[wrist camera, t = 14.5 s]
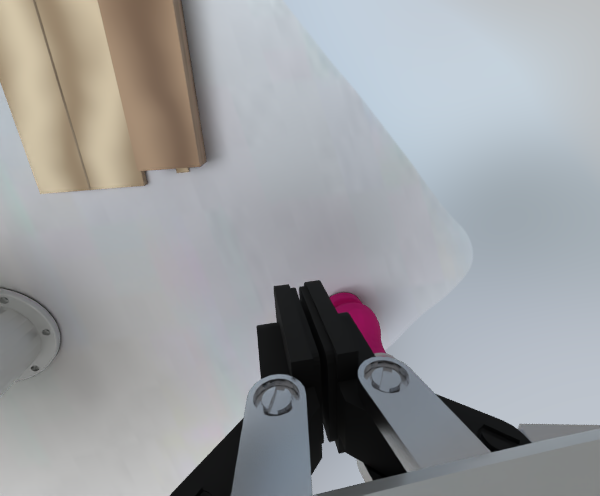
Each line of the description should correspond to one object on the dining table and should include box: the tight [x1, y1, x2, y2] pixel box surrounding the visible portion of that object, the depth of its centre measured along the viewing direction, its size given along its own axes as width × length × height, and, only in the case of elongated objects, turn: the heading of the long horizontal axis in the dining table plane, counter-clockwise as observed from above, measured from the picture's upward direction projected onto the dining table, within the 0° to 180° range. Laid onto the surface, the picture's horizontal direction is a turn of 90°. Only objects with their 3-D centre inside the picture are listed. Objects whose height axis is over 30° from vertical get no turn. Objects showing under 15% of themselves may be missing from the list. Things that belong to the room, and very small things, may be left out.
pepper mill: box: [330, 293, 395, 359], centre depth 35 cm, size 7×7×20 cm
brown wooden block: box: [97, 0, 206, 171], centre depth 28 cm, size 6×16×6 cm, turn 3°
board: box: [0, 0, 189, 194], centre depth 29 cm, size 15×20×1 cm
